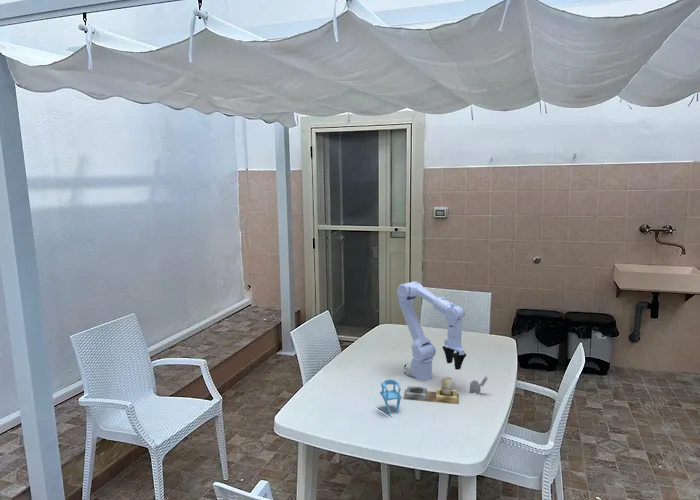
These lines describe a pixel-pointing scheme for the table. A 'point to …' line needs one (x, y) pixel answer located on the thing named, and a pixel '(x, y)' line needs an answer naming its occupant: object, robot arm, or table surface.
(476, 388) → the lighter
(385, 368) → the table surface
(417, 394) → the dock
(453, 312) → the robot arm
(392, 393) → the chair
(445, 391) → the beige cylinder
